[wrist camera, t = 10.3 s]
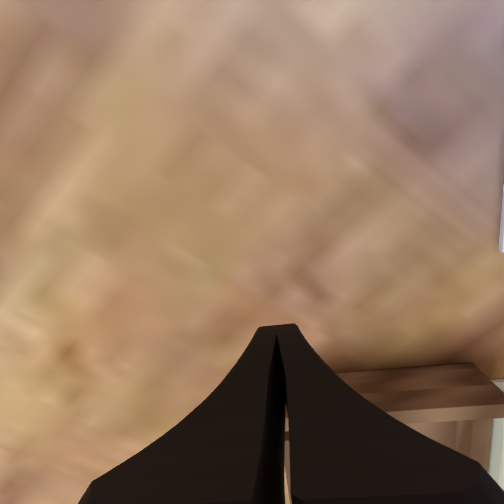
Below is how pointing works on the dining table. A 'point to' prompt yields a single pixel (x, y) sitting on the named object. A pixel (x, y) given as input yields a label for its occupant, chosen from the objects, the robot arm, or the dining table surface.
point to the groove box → (432, 404)
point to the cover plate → (497, 445)
